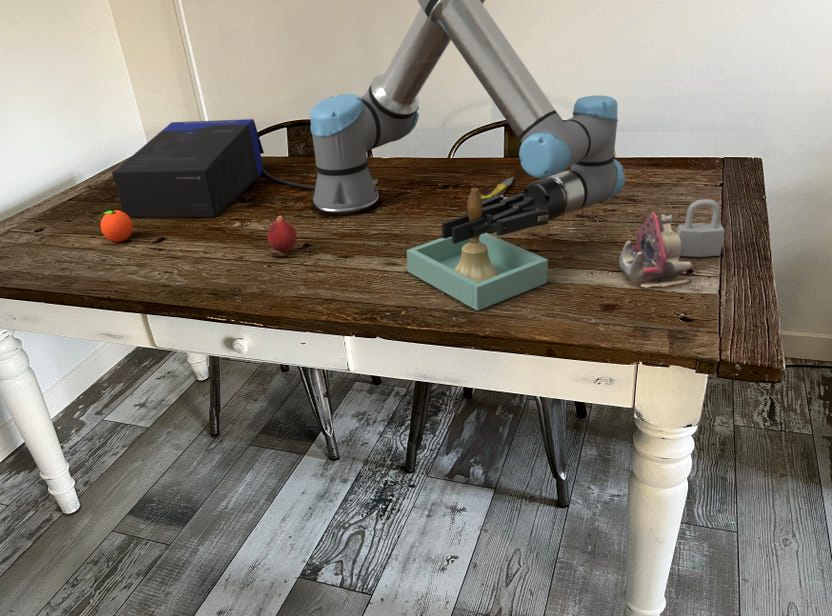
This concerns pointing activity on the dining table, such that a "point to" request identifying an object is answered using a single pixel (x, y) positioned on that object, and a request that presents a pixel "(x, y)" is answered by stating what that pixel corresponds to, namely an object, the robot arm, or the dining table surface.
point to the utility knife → (498, 189)
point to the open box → (438, 267)
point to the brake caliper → (654, 254)
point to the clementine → (116, 225)
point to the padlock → (701, 232)
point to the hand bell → (475, 247)
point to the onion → (282, 235)
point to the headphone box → (190, 169)
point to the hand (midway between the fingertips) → (448, 233)
